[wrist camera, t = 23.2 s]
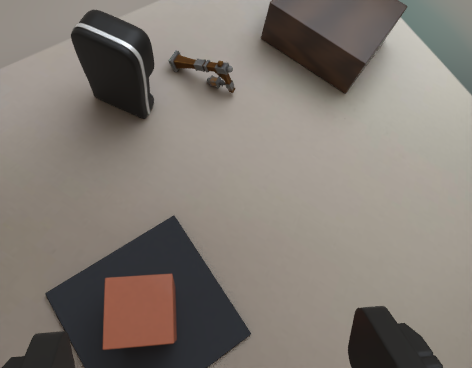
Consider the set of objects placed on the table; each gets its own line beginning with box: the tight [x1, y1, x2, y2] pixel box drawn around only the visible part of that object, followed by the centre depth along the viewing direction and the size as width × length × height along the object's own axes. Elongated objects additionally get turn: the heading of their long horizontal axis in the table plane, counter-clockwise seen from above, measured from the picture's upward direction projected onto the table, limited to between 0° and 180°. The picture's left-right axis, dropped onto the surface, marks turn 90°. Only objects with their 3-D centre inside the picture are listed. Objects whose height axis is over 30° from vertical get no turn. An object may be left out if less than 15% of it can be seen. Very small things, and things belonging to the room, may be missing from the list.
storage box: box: [261, 0, 407, 94], centre depth 49 cm, size 13×11×6 cm
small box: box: [103, 274, 177, 350], centre depth 33 cm, size 5×5×9 cm
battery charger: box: [71, 10, 154, 119], centre depth 40 cm, size 7×4×11 cm, turn 67°
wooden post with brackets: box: [169, 51, 235, 93], centre depth 46 cm, size 2×8×4 cm, turn 64°
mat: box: [45, 216, 251, 368], centre depth 38 cm, size 14×14×1 cm
